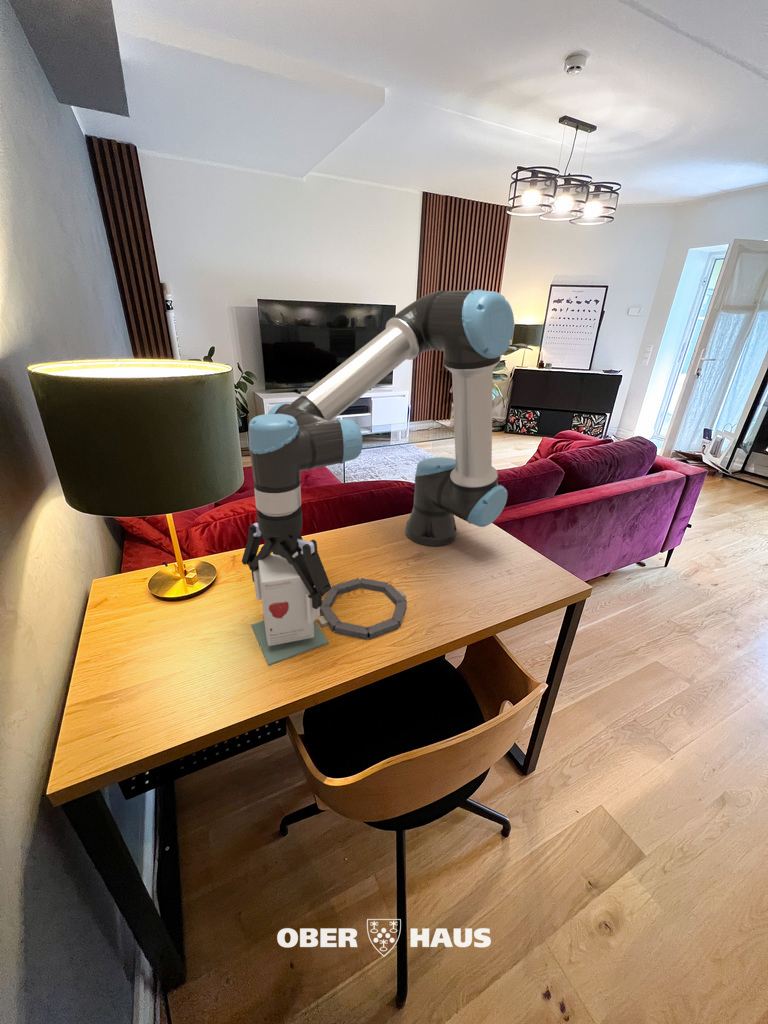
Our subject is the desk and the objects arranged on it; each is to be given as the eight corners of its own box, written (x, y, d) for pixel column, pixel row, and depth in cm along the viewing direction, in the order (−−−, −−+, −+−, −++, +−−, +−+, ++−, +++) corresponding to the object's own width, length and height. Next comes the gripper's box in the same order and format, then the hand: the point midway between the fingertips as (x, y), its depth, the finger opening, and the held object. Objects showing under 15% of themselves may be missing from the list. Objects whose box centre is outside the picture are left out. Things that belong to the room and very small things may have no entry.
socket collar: (383, 575, 102) (383, 570, 102) (425, 618, 89) (426, 612, 88) (304, 599, 92) (303, 594, 92) (338, 652, 79) (338, 646, 78)
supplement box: (267, 648, 76) (259, 582, 70) (263, 617, 84) (256, 555, 77) (315, 638, 79) (312, 574, 73) (308, 609, 87) (304, 548, 80)
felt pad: (306, 608, 90) (306, 606, 90) (328, 643, 81) (328, 641, 81) (251, 626, 84) (251, 624, 84) (268, 665, 75) (268, 664, 75)
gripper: (351, 517, 68) (350, 618, 77) (244, 484, 78) (255, 578, 88) (323, 535, 62) (326, 643, 71) (211, 498, 72) (227, 596, 82)
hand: (287, 607), depth 79 cm, fingers closed on supplement box, 12 cm apart
